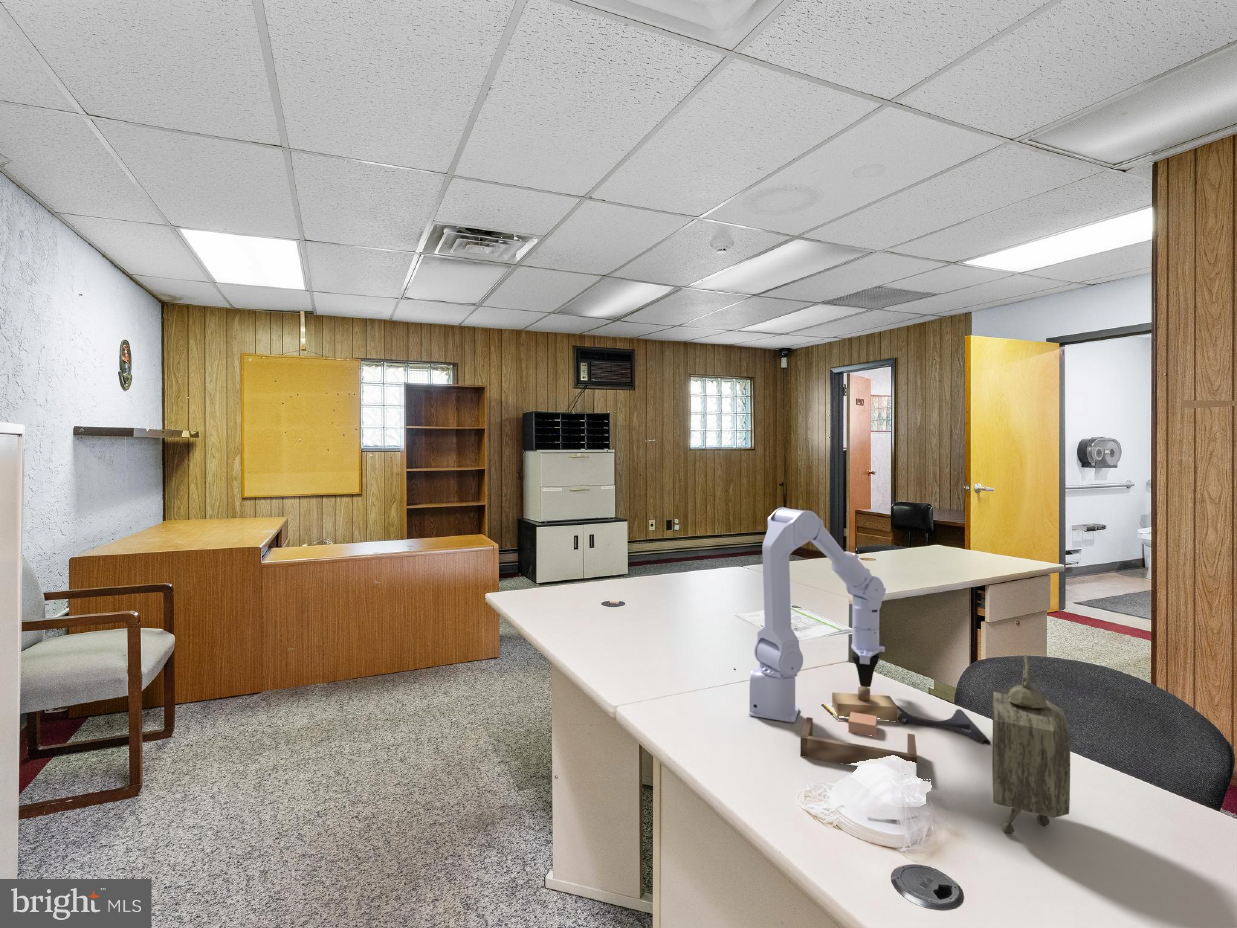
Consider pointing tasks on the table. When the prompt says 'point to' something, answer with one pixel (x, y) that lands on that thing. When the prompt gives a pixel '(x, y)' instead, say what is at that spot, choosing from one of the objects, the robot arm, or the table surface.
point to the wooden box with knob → (865, 704)
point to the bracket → (949, 725)
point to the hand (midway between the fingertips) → (865, 685)
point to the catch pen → (847, 748)
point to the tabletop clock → (1030, 754)
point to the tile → (862, 724)
